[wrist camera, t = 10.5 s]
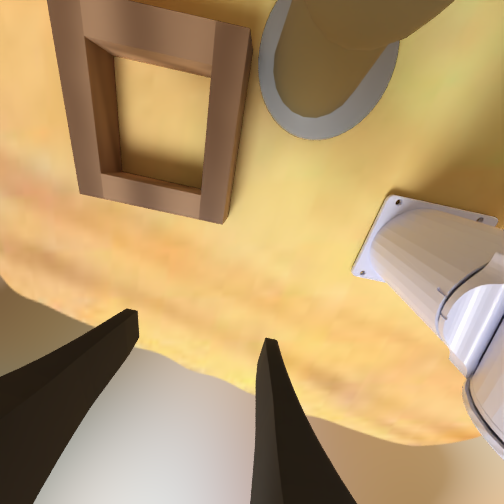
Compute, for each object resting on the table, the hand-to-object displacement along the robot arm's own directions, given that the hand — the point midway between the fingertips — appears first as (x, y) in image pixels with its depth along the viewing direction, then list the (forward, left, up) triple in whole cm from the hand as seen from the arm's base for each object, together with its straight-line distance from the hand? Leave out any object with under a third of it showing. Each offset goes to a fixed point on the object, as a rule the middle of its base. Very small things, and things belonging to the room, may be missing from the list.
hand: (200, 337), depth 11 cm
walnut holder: (+7, -10, -10) cm, 16 cm away
